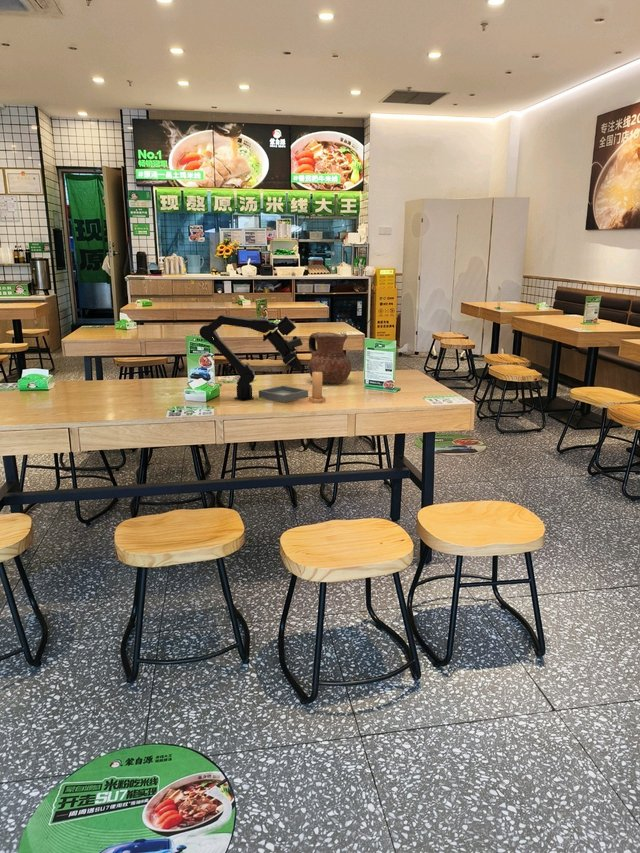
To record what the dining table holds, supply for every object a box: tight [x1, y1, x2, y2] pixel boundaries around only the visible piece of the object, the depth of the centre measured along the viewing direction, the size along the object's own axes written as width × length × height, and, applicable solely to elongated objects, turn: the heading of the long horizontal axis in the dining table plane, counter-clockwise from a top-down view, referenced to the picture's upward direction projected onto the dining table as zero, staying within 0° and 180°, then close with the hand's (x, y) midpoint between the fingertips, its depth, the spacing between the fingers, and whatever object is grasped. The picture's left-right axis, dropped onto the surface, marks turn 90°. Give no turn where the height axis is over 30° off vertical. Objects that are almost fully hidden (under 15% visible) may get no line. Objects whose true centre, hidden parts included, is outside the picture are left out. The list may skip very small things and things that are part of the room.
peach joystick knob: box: [308, 372, 326, 404], centre depth 277 cm, size 7×7×13 cm
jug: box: [307, 331, 353, 385], centre depth 316 cm, size 22×21×25 cm
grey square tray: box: [258, 385, 309, 403], centre depth 286 cm, size 16×16×3 cm
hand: (301, 369), depth 279 cm, fingers open, 9 cm apart
